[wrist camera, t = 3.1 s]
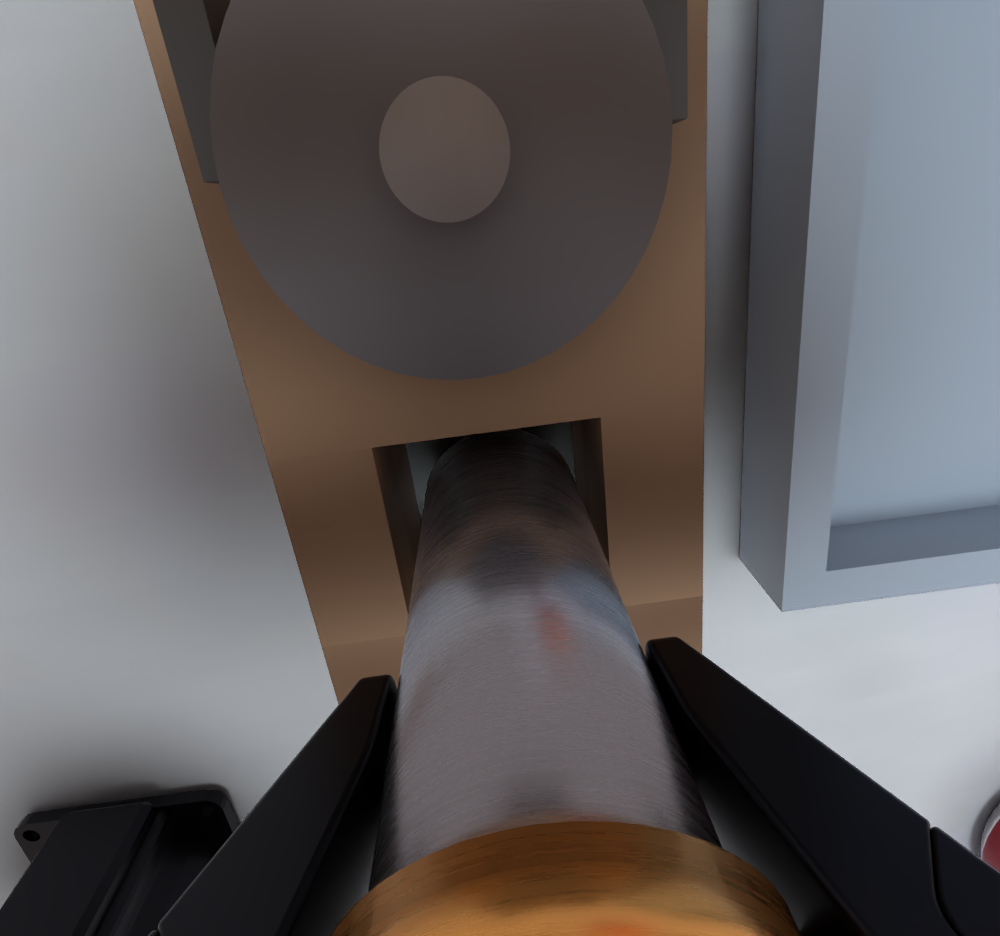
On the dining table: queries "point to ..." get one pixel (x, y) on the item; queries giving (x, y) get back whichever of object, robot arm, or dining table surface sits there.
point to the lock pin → (537, 735)
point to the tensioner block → (455, 268)
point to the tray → (873, 301)
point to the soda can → (992, 840)
